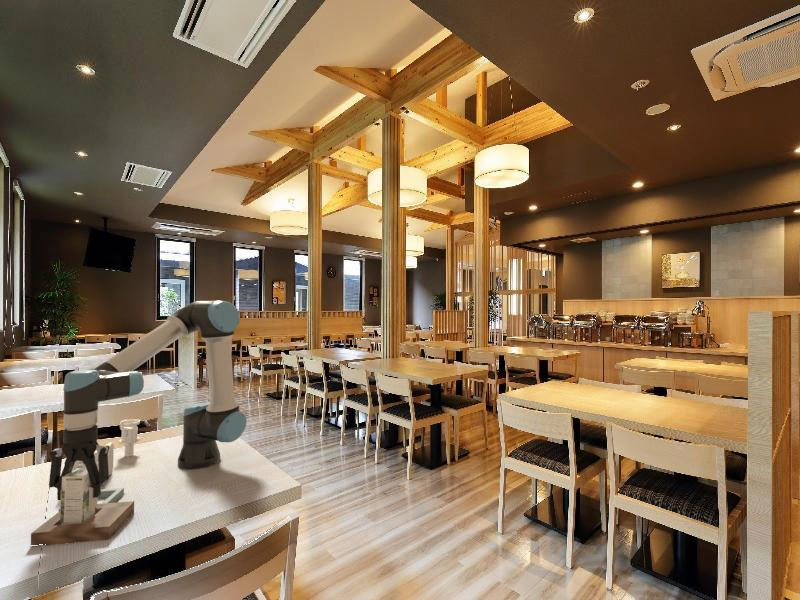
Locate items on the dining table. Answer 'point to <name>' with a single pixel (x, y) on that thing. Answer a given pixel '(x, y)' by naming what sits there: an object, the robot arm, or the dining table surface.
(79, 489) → the syrup box
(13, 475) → the dining table surface
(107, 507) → the socket board
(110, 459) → the cable organizer
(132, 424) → the white upright piece
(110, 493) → the green square frame
